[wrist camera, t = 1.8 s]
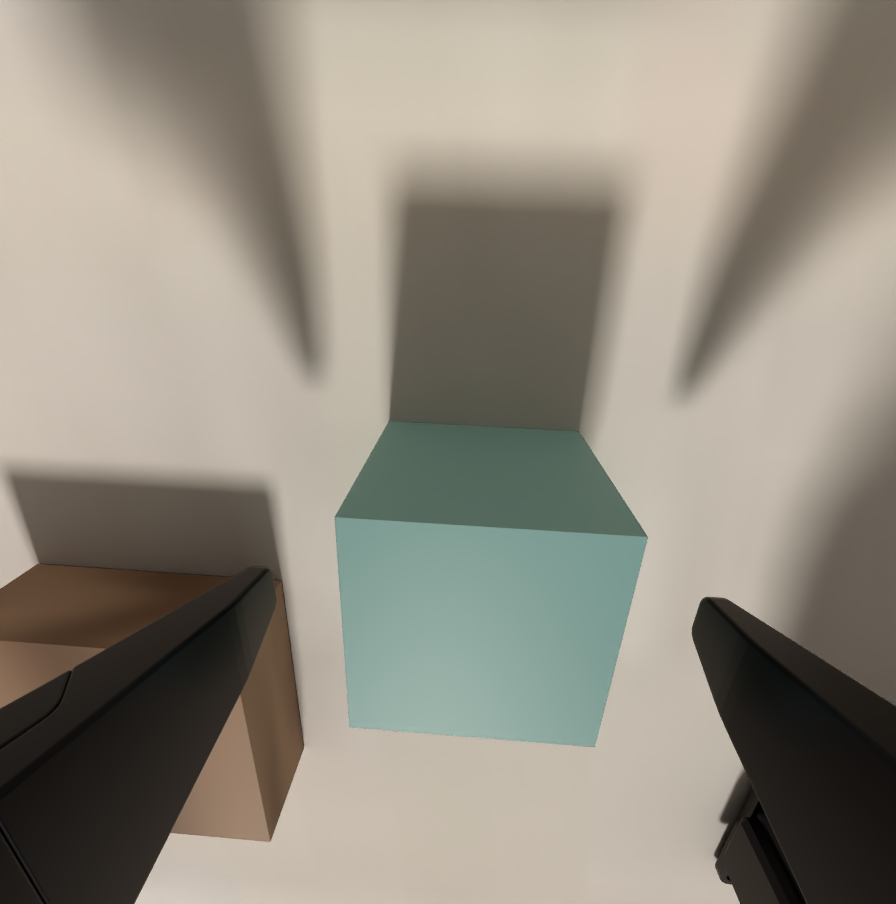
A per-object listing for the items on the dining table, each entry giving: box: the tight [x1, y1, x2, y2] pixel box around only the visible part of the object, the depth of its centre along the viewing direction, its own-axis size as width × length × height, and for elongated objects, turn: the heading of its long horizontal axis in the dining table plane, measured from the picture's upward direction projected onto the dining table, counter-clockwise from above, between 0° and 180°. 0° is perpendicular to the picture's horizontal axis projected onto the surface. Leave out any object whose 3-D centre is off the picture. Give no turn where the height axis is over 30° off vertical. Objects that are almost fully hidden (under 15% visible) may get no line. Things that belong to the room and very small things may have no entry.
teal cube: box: [335, 421, 648, 747], centre depth 10 cm, size 5×5×5 cm
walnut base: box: [0, 564, 304, 842], centre depth 14 cm, size 8×8×3 cm
